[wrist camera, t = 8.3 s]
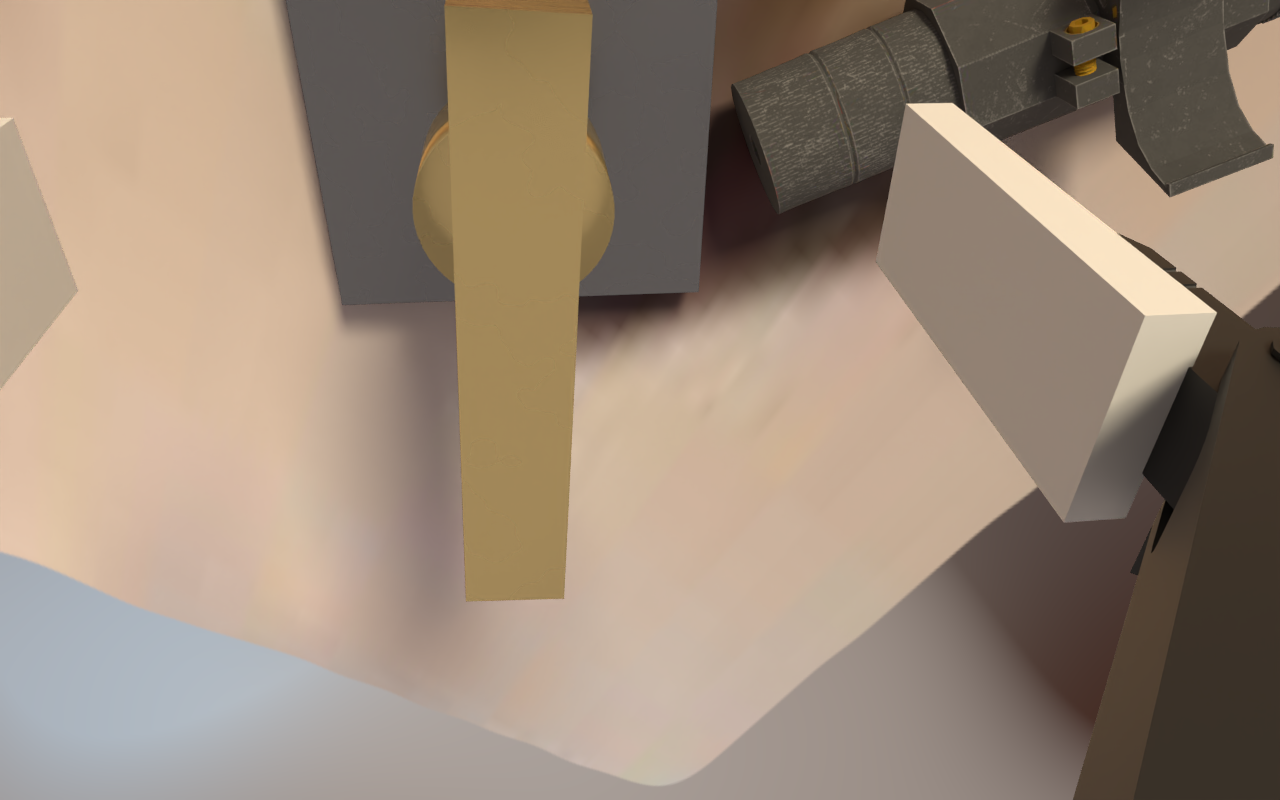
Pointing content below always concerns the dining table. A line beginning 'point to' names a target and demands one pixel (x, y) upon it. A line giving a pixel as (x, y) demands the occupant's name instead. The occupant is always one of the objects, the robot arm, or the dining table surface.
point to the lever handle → (515, 271)
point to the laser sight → (1009, 86)
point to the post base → (417, 90)
